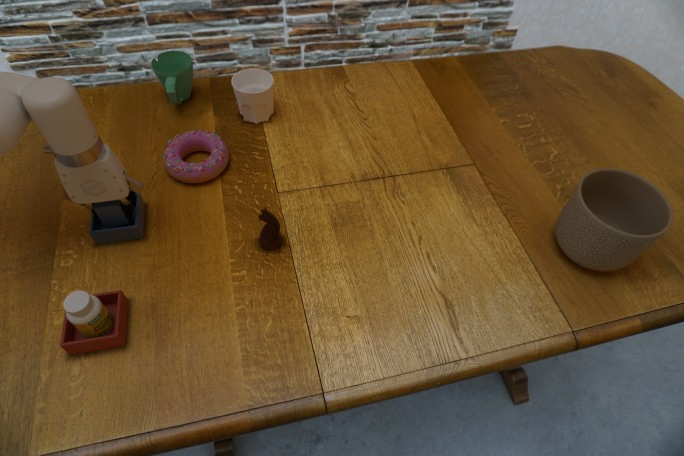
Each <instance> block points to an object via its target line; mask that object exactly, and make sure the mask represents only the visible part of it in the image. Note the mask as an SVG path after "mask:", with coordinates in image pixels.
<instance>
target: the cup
mask: <svg viewBox="0 0 684 456" xmlns="http://www.w3.org/2000/svg"><path fill="white" fill-rule="evenodd" d="M230 82H231V87H232V89H233V93H234V96H235V99H236V103H237V106H238V111H239V114H240V115H242V117H243V121H244V122H250V123H254V124H255V125H258V124H259V123H262V122H269V119H270V118H271V116H272V115H273V114H274V112H275V111H274V109H275V108H274V104H275V103H274V101H275V99H274V98H275V97H274V96H275V95H274V93H275V91H274V90H275V88H274V87H275V86H274V85H275V79H274V76H273V75H272V73H271V72H270V71H268V70H265V69H262V68H258V67H257V68H256V67H250V68H245V69H241V70H239V71H237V72H236V73H235V74H234V75H233V76H232V77H231V81H230Z"/></svg>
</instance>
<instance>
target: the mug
mask: <svg viewBox="0 0 684 456" xmlns="http://www.w3.org/2000/svg"><path fill="white" fill-rule="evenodd" d="M150 66H151V69H152V71H153V73H154V75H155V77H156V78H157V80H158V81H159V84H160V85H161V86H162V87H163V89H164V90H165V94H166V96H167V99H168V101H169V102H170V103H171V104H172V105H181V104H182V103H183V102H184V101H186V100H189V98H190V97H191V95H192V90H193V84H194V83H193V82H194V63H193V58H192V56H191V55H190V54H189V53H187V52H185V51H183V50H182V51H181V50H174V49H173V50H167V51H163V52H160V53H159V54H157V59H156V58H155V57H153V58H152V59H151V62H150Z"/></svg>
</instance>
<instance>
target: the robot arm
mask: <svg viewBox="0 0 684 456" xmlns="http://www.w3.org/2000/svg"><path fill="white" fill-rule="evenodd" d="M32 122H33V123H34V125H36V127H37V129H38V131H39V132H40V133H41V135H42V137H43V138H44V140H45V142H46V143H47V145H43V153H45V154H51V155H53V157H54V160H53V163H54V166H55V170H56V173H57V175H58V177H59V180H60V182H61V185H62V186H63V188H64V189H63V191H62V196H61V199H62V200H66V201H70V202H73V203H75V204H77V205H81V206H84V207H85V209H86V210H89V211H90V212H91V214H92V213H93V215H94V216H95V217H97V218H98V220H99V221H100V222H102V221H101V220H100V218H99V217H98V215H97V213H96V212H95V210H94V203H96V202H104V201H111V200H118V199H119V200H120V201H121V202H122V208H123V210H124V212H125V214H126V216H127V218H132V212H134V205H133V203H132V201H131V200H132V199H133V197H134V196H135V194H136V193H140V192H141V191H142V190H143V189H144V184H143V182H142V181H140V180H138V179H136V178H134V177H132V176H131V175H129V173H128V171H127V170H126V168H125V166H124V165H123V163H122V161H121V160H120V159H119V157H118V156H117V154H116V153H115V152H114V150H112V148H111V147H110V146H109V145H108V144H107V143H104V142H103V141H102V138H101V136H100V134H99V132H98V131H97V129H96V127H95V125H94V122H93V121H92V119H91V116H90V114H89V113H88V110H87V108H86V107H85V104H84V103H83V101H82V99H81V97H80V95H79V93H78V91H77V89H76V87H75V86H74V85H73V84H72V83H71V82H70V81H68V80H66V79H65V78H62V77H57V76H47V77H41V78H40V77H39V78H38V77H33V76H29V75H26V74H25V75H24V74H20V73H15V72H10V71H0V156H4V155H7V154H10V153H11V152H12V151H14V150H15V149H16V148H17V146H18V144H19V143H20V141H21V139H22V138H23V136H24V134H25V132H26V130H27V128H28V126H29V124H30V123H32Z"/></svg>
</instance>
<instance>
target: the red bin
mask: <svg viewBox="0 0 684 456" xmlns="http://www.w3.org/2000/svg"><path fill="white" fill-rule="evenodd" d="M91 295H94V296H96V297H97V298H98V299H99V300H100V301H101V302H102V304H103V305H104V306H105V307H106V309H107V310H108V311H109V312H110V313H111V315H112V316H113V319H114V326H113V328H112V330H111V331H110V333H109V334H107V335H106V336H102V337H96V338H90V339H88V338H87V337H85V336H84V335H83V334H82V333H81V332H80V331H79V330H78V329H77V328H76V327H75V326H74V325H73V324H72V323H71V322H70V321H69V320H68V318H67V316H66V310H64V317H63V318H64V319H63V324H62V330H61V336H60V344H59V347H60V348H61V349H62V350H64V352H66V354H68V355H69V356H74V355H79V354H86V353H92V352H96V351H104V350H108V349H109V350H110V349H115V348H121V347H125V346H126V342H127V329H128V313H129V303H130V302H129V299H128V297H127V296H126V294H125V293H124V292H123V290H122V289H118V290H112V291H105V292H100V293H93V294H91Z"/></svg>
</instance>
